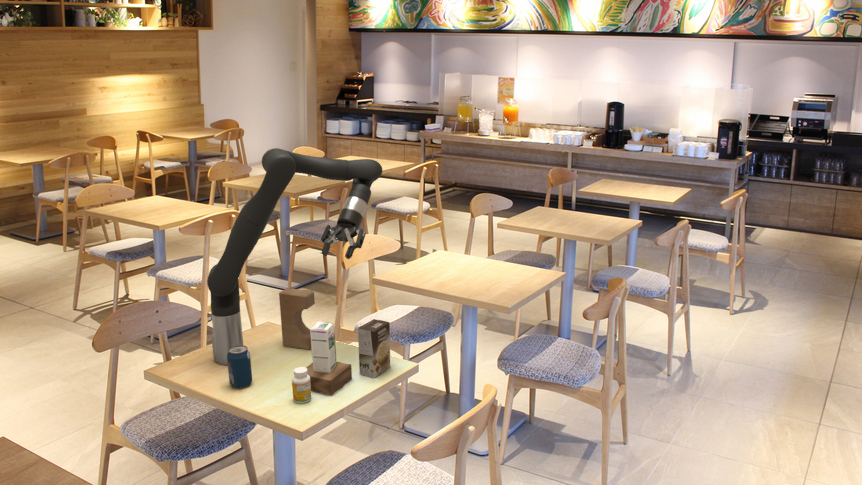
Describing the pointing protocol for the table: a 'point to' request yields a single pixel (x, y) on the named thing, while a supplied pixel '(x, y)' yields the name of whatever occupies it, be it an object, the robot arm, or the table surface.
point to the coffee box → (374, 348)
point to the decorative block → (295, 317)
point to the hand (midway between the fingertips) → (335, 256)
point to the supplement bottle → (301, 385)
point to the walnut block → (330, 378)
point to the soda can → (239, 367)
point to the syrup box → (323, 347)
